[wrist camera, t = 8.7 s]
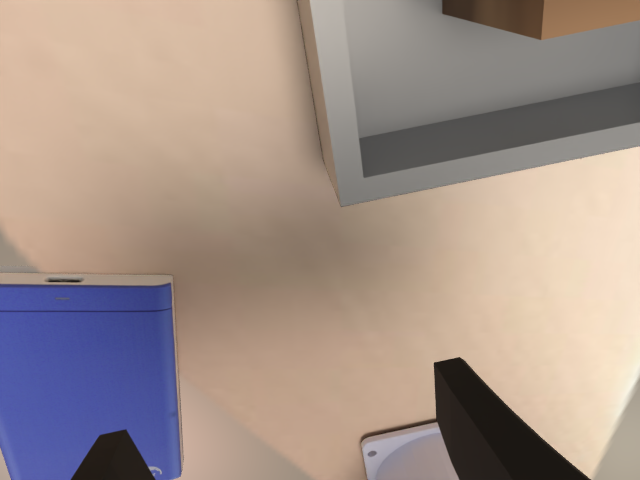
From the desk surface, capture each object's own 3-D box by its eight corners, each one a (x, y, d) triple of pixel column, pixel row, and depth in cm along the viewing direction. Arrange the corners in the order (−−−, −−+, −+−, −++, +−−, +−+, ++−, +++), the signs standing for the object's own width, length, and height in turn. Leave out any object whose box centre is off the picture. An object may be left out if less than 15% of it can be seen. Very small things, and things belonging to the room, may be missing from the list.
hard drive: (181, 480, 25) (169, 289, 19) (10, 491, 23) (-61, 287, 17) (184, 454, 26) (175, 267, 20) (23, 462, 25) (-40, 264, 19)
